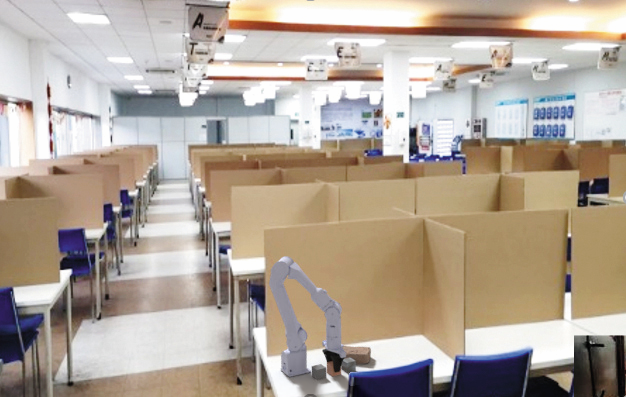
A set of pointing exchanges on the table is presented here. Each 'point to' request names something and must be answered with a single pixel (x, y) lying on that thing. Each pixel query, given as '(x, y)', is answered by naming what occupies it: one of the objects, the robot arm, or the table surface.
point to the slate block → (348, 365)
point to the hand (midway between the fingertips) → (333, 369)
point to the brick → (358, 354)
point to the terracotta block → (332, 369)
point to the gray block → (318, 372)
